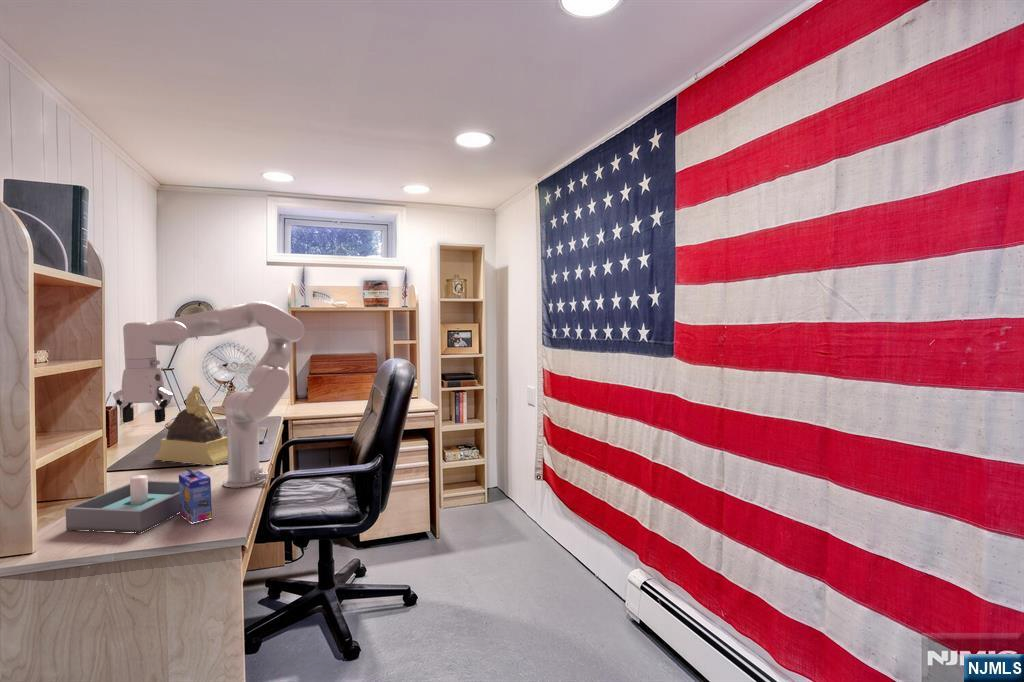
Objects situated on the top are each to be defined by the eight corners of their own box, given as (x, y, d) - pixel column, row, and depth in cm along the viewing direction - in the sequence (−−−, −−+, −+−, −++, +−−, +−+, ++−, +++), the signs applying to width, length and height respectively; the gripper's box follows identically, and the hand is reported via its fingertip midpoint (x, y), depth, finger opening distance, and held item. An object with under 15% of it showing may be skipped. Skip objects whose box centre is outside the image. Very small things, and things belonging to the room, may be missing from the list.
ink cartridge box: (178, 516, 141) (177, 466, 140) (200, 510, 145) (199, 461, 145) (190, 525, 135) (189, 473, 134) (213, 519, 139) (212, 468, 138)
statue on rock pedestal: (239, 457, 201) (238, 384, 199) (213, 466, 188) (212, 388, 187) (184, 452, 207) (182, 381, 206) (155, 460, 195) (153, 385, 194)
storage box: (202, 501, 152) (202, 482, 152) (140, 534, 129) (140, 511, 129) (138, 499, 154) (137, 480, 153) (66, 530, 131) (65, 508, 130)
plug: (151, 509, 143) (151, 475, 143) (140, 514, 139) (139, 479, 139) (138, 508, 144) (138, 474, 143) (127, 514, 140) (126, 479, 139)
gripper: (178, 362, 149) (181, 419, 150) (123, 362, 149) (126, 418, 150) (160, 365, 141) (163, 424, 142) (101, 365, 142) (105, 424, 143)
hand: (144, 421), depth 146 cm, fingers open, 9 cm apart
